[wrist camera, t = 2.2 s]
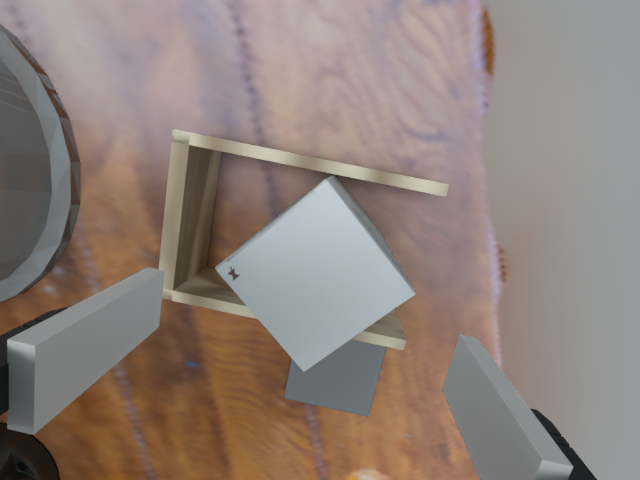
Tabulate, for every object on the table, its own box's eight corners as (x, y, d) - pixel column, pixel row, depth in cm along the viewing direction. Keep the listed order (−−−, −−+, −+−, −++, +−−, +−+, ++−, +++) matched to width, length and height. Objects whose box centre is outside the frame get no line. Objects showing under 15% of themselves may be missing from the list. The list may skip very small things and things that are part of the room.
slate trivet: (285, 391, 42) (283, 398, 41) (300, 315, 40) (299, 320, 39) (367, 409, 42) (368, 416, 41) (387, 334, 40) (388, 339, 39)
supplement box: (318, 290, 40) (299, 379, 23) (265, 226, 38) (206, 272, 22) (388, 239, 38) (421, 295, 21) (335, 170, 37) (327, 174, 20)
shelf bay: (192, 271, 40) (155, 297, 32) (209, 136, 37) (172, 128, 29) (392, 314, 40) (403, 350, 32) (426, 180, 36) (449, 184, 28)
